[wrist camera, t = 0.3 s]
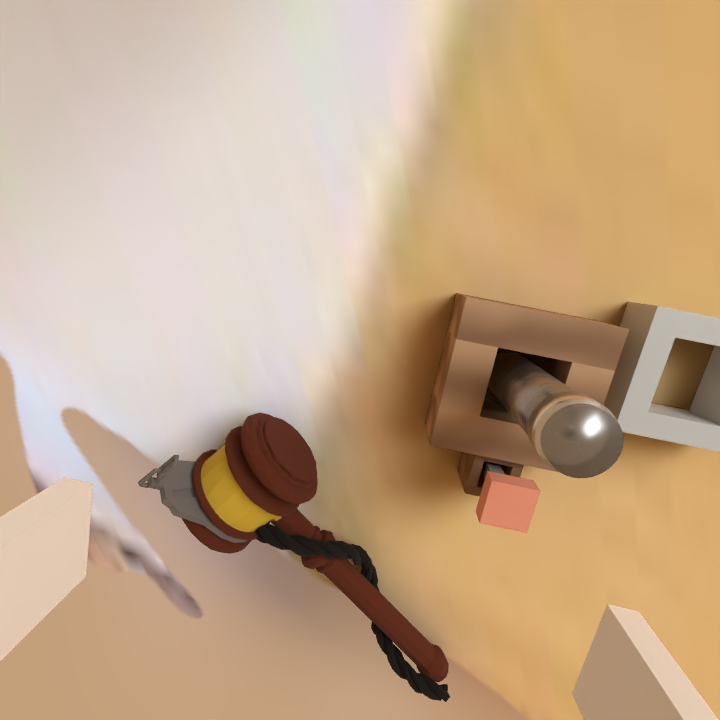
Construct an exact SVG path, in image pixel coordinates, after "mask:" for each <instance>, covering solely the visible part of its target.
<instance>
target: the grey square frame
mask: <svg viewBox="0 0 720 720" xmlns="http://www.w3.org/2000/svg"><path fill="white" fill-rule="evenodd" d="M620 327H623V328H627V329H629V332H628V335H627V337H626V340H625V343H624V346H623V349H622V352H621V355H620V358H619V361H618V364H617V367H616V370H615V373H614V376H613V378H612V381H611V384H610V387H609V390H608V393H607V396H606V399H605V402H604V405H603V406H605V407H606V408H608V409H609V410H610V411H611V412H612V413H613V415H614V416H615V417H616V419H617V421H618V423H619V425H620V427H621V429H622V432H625V433H630V434H635V435H640V436H645V437H649V438H654V439H659V440H664V441H669V442H674V443H679V444H684V445H689V446H694V447H699V448H703V449H708V450H713V451H718V452H720V318H717V317H712V316H707V315H701V314H696V313H691V312H686V311H681V310H676V309H670V308H665V307H660V306H654V305H647V304H640V303H633V302H628V303H627V306H626V309H625V312H624V315H623V318H622V321H621V324H620ZM675 338H680V339H685V340H690V341H695V342H700V343H706V344H711V345H715V346H714V349H713V351H712V354H711V356H710V359H709V361H708V364H707V367H706V369H705V372H704V374H703V377H702V379H701V382H700V384H699V387H698V389H697V392H696V395H695V397H694V400H693V402H692V405H691V407H690V410H685V409H680V408H675V407H670V406H665V405H660V404H655V403H651V402H652V400H653V397H654V394H655V391H656V389H657V386H658V383H659V381H660V378H661V375H662V372H663V370H664V367H665V364H666V362H667V359H668V356H669V353H670V351H671V348H672V345H673V343H674V340H675Z"/></svg>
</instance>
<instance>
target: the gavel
mask: <svg viewBox="0 0 720 720" xmlns="http://www.w3.org/2000/svg"><path fill="white" fill-rule="evenodd" d="M178 459H179V455H174V456H173V457H171V458H170V459H169V460H168V461H167V462H165V463H164V464H163V465H162V466H161V467H159V468H158V469H153V470H152V471H151V472H150V473H149V474H147V475H146V476H145V477H144V478H143V479H141V480H140V481H139V482H138V483H139V485H140V486H141V487H146V488H148V487H149V488H154V489H158V490H160V494H161V500H162V503H163V504H164V505H166V506H167V507H168V508H169V509H170V511H171V512H172V514H173V515H175V516H178V517H181V518H182V520H183V521H184V523H185V524H186V526H187V527H188V529H189V530H190V532H191V533H192V534H193V535H194V536H195V537H196V538H197V539H198V540H199V541H200V542H201V543H203V544H204V545H205V546H207V547H208V548H210V549H212V550H215V551H218V552H223V553H234V552H239V551H241V550H243V549H244V548H245V547H246V546H247V545H248V544H249V543H250V542H251V540H254V539H257V540H259V541H261V542H263V543H268V544H270V545H272V546H274V547H276V548H279V549H281V550H291V551H293V552H294V553H296V554H298V555H300V556H301V559H302V563H303V565H304V566H305V567H307V568H311V569H314V568H316V569H317V571H318V572H321V573H324V574H325V575H326V576H327V577H328V578H329V579H330V580H331V581H332V582H333V583H334V584H335V585H336V586H337V587H338V588H339V589H340V590H341V591H342V592H343V593H344V594H345V595H346V596H347V597H348V598H349V599H350V600H351V601H352V602H353V603H354V604H355V605H356V606H357V607H358V608H359V609H360V610H361V611H362V612H363V613H364V614H365V615H366V616H367V617H368V618H369V619H370V620H372V625H371V626H372V627H371V629H372V630H373V632H374V634H375V635H376V638H377V642H378V644H379V645H380V647H381V649H382V651H383V652H384V653H385V654H386V655H387V658H388V661H389V663H390V665H391V667H392V669H393V670H394V672H396V673H397V675H399V676H400V678H403V679H406V680H407V681H408V682H409V684H410V686H411V687H412V688H413V689H414V690H415V692H417V693H423V694H424V695H425V696H427V697H429V698H430V699H432V700H440V701H441V699H443V700H444V701H445V702H446V701H447V700H448V698H449V697H450V696H449V694H448V692H447V691H448V685H447V684H443V685H438V684H437V683H436V682H440V681H442V680H443V679H444V678H446V676H447V673H448V662H447V659H446V657H445V655H444V653H443V651H442V650H441V648H440V647H439V646H437V645H433V644H431V643H430V642H429V641H428V640H427V639H426V638H425V637H424V636H423V635H422V634H421V633H420V632H419V631H418V630H417V629H416V628H415V627H414V626H413V625H412V624H411V623H410V622H409V621H408V620H407V619H406V618H405V617H404V616H403V615H402V614H401V613H400V612H399V611H398V610H397V609H396V608H395V607H394V606H393V605H392V604H391V603H390V602H389V601H388V600H387V599H386V598H385V597H384V596H383V595H382V594H381V593H380V591H379V589H378V586H377V583H378V578H377V574H376V569H375V567H374V566H373V564H372V561H371V559H370V557H369V556H368V554H367V552H366V551H365V550H364V549H363V548H362V547H360V546H358V545H354V544H347V543H345V542H343V541H335V538H334V536H333V534H332V532H330V531H326V530H322V531H320V528H319V527H317V526H313V525H312V524H311V523H310V522H309V521H308V520H307V519H306V518H305V517H304V516H303V515H302V514H301V513H300V512H299V511H298V510H297V507H298V506H299V504H301V503H304V502H307V501H309V500H310V499H312V498H313V497H314V495H315V494H316V490H317V470H316V461H315V459H314V456H313V454H312V451H311V449H310V447H309V446H308V445H307V443H306V442H305V440H304V439H303V437H302V436H301V435H300V434H299V433H298V431H297V430H296V429H294V428H293V427H292V426H291V425H290V424H288V423H287V422H285V421H284V420H282V419H279V418H274V417H272V416H270V415H268V414H263V413H257V414H254V415H251V416H248V417H247V419H246V421H245V422H244V424H243V426H239V427H237V428H235V429H233V430H231V432H230V433H229V435H228V436H227V438H226V444H225V445H223V446H222V447H221V448H220V449H219V450H210V451H207V452H205V453H203V454H202V455H201V456H200V457H199V458H198V459H197V461H196V462H189V461H178ZM155 473H157V478H154V477H152V476H153V475H154V474H155ZM150 477H151V478H150ZM145 481H148V483H144V482H145ZM270 521H271V522H272V523H273V524H274V525H275V526H273V525H270V524H269V523H270ZM350 558H352V559H353V562H354V564H355V565H358V566H359V565H362V569H361V572H359V571H358V570H357V569H356V568H355V567H354V566H353V565H352V564H351V563H350V562H349V561H348V560H347V559H350ZM362 574H363V575H364V576H363V575H362ZM392 641H393V642H394V643H395V644H396V645H397V646H398V647H399V648H400V649H401V650H402V651H403V652H404V653H405V654H406V655H407V656H408V657H409V658H410V659H411V660H412V661H413V662H414V663H415V664H416V665H417V668H418V670H419V672H420V673H416V671H415V670H414V669H413V668H412V667H411V665H410V664H409V663H408V662H406V661H405V660H404V657H403V655H402V653H401V651H400V650H399V649H398V648H397V647H396V646H395V645H394V644H393V643H392ZM435 681H436V682H435Z"/></svg>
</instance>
